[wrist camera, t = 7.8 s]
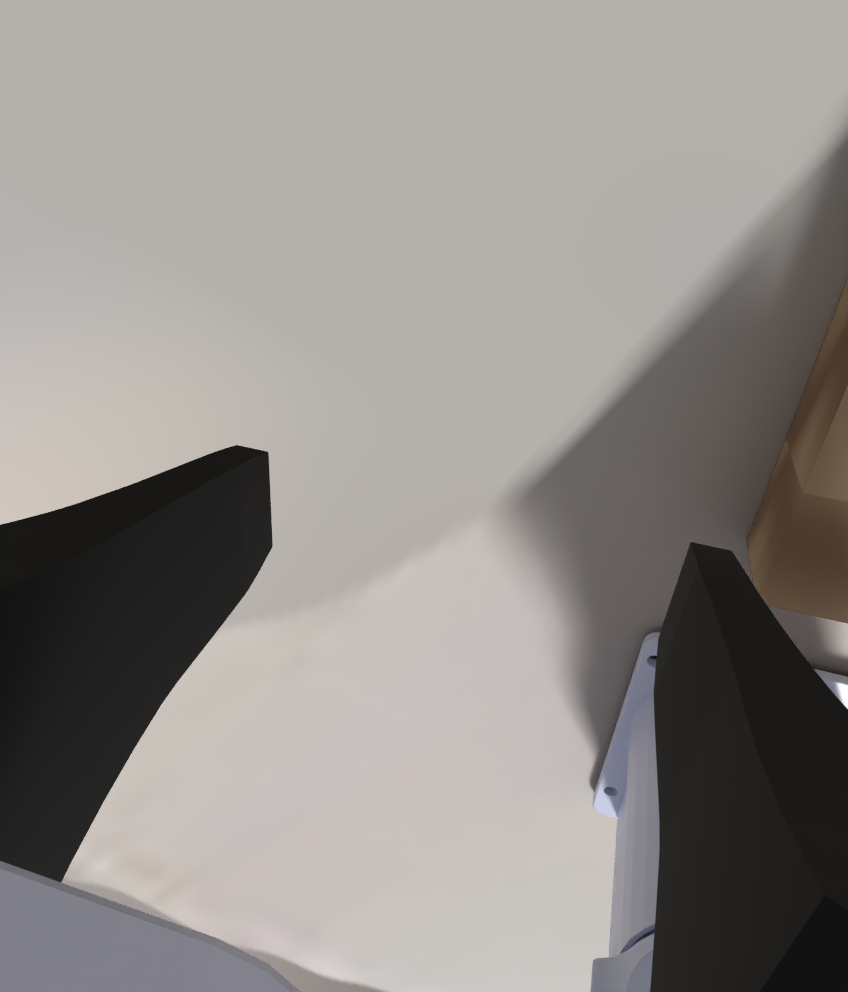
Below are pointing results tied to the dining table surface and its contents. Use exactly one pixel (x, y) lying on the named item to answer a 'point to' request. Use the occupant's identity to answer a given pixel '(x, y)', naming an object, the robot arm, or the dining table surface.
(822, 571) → the socket block
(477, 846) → the dining table surface
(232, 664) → the dining table surface
